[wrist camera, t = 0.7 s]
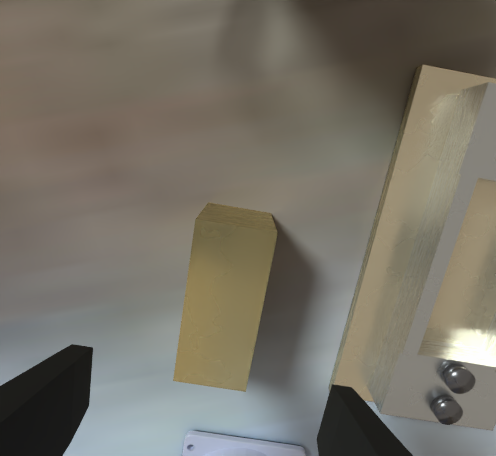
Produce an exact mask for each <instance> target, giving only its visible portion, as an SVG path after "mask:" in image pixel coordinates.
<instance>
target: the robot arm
mask: <svg viewBox="0 0 496 456" xmlns="http://www.w3.org/2000/svg"><path fill="white" fill-rule="evenodd" d="M92 353H93V348H92V347H86V346H79V345H73V344H72V345H70V346H68V347H66V348H65V349H63V350H61V351H59V352H58V353H56V354H54V355H53V356H51V357H49V358H48V359H46V360H44V361H43V362H41V363H39V364H37V365H36V366H34V367H32V368H31V369H29V370H27V371H25V372H24V373H22V374H20V375H19V376H17V377H15V378H13V379H12V380H10V381H8V382H6V383H5V384H3V385H1V386H0V456H62V455H63V454H64V452H65V451H66V449H67V447H68V446H69V444H70V443H71V441H72V439H73V437H74V435H75V433H76V431H77V429H78V427H79V425H80V423H81V421H82V419H83V417H84V415H85V413H86V411H87V409H88V406H89V398H90V383H91V368H92ZM191 444H192V445H193V446H191ZM317 444H318V452H319V456H413V455H412V454H411V453H410V452H409V451H408V450H407V449H406V448H405V447H404V446H403V444H402V443H401V442H400V441H399V440H398V439H397V438H396V437H395V436H394V434H393V433H392V432H391V431H390V430H389V429H388V428H387V426H386V425H385V424H384V423H383V422H382V421H381V420H380V418H379V417H378V416H377V415H376V414H375V413H374V412H373V410H372V409H371V408H370V407H369V406H368V405H367V403H366V402H365V401H364V400H363V399H362V398H361V397H360V396H359V394H358V393H357V392H356V391H355V390H354V389H353V388H352V387H348V386H341V385H334V384H332V386H331V390H330V393H329V397H328V401H327V404H326V408H325V411H324V415H323V419H322V422H321V426H320V429H319V433H318V437H317ZM182 456H306V454H305V450H304V448H303V447H301V446H297V445H290V444H283V443H276V442H269V441H262V440H255V439H248V438H241V437H234V436H227V435H220V434H213V433H206V432H199V431H189V432H188V433H186V436H185V440H184V447H183V453H182Z"/></svg>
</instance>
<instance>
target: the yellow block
mask: <svg viewBox="0 0 496 456" xmlns="http://www.w3.org/2000/svg"><path fill="white" fill-rule="evenodd" d="M277 234H278V233H277V230H276V227H275V224H274V221H273V218H272V215H271V213H267V212H261V211H255V210H249V209H243V208H238V207H232V206H226V205H220V204H214V203H208V204H207V205H206V206H205V208H204V209H203V210H202V212H201V213H200V214H199V215H198V217H197V218H196V220H195V227H194V234H193V242H192V249H191V256H190V263H189V271H188V278H187V285H186V292H185V299H184V307H183V314H182V321H181V328H180V336H179V343H178V350H177V357H176V364H175V372H174V379H173V381H178V382H184V383H191V384H198V385H204V386H211V387H218V388H224V389H231V390H238V391H244V392H246V387H247V382H248V377H249V372H250V367H251V362H252V358H253V353H254V348H255V343H256V338H257V333H258V328H259V323H260V318H261V313H262V308H263V303H264V298H265V293H266V289H267V284H268V279H269V274H270V269H271V264H272V259H273V254H274V249H275V244H276V239H277Z"/></svg>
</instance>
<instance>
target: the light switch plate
mask: <svg viewBox="0 0 496 456" xmlns="http://www.w3.org/2000/svg"><path fill="white" fill-rule="evenodd" d="M332 384H334V385H341V386H348V387H352V388H353V389H354V390H355V391H356V392H357V393H358V394H359V396H360V397H361V398H362V399H363V400H366V401H373V402H375V404H376V406H377V408H378V410H379V412H380V414H386V415H392V416H399V417H406V418H413V419H419V420H426V421H433V422H439V423H442V424H446V425H450V424H453V425H459V426H466V427H473V428H479V429H486V430H493V428H494V426H495V424H496V79H495V78H489V77H484V76H479V75H474V74H469V73H464V72H458V71H453V70H448V69H443V68H438V67H433V66H428V65H421V66H419V67H417V68H416V72H415V76H414V79H413V83H412V86H411V90H410V94H409V97H408V101H407V105H406V108H405V112H404V116H403V119H402V123H401V126H400V130H399V134H398V137H397V141H396V145H395V148H394V152H393V156H392V159H391V163H390V167H389V170H388V174H387V177H386V181H385V185H384V188H383V192H382V196H381V199H380V203H379V207H378V210H377V214H376V217H375V221H374V225H373V228H372V232H371V236H370V239H369V243H368V247H367V250H366V254H365V258H364V261H363V265H362V268H361V272H360V276H359V279H358V283H357V287H356V290H355V294H354V298H353V301H352V305H351V309H350V312H349V316H348V319H347V323H346V327H345V330H344V334H343V338H342V341H341V345H340V349H339V352H338V356H337V359H336V363H335V367H334V370H333V374H332V378H331V381H330V385H329V391H330V390H331V386H332Z"/></svg>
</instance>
